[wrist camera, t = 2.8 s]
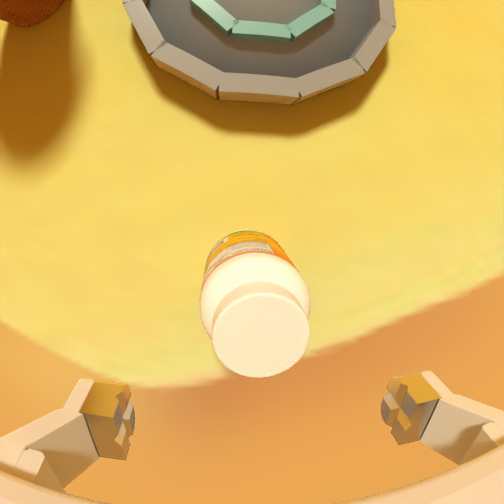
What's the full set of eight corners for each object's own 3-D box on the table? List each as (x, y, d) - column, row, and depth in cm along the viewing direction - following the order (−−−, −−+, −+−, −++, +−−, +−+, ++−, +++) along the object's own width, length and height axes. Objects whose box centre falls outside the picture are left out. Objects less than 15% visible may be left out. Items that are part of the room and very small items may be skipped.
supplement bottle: (287, 299, 23) (326, 381, 13) (211, 308, 22) (205, 397, 13) (283, 223, 21) (327, 267, 12) (201, 232, 21) (183, 283, 12)
